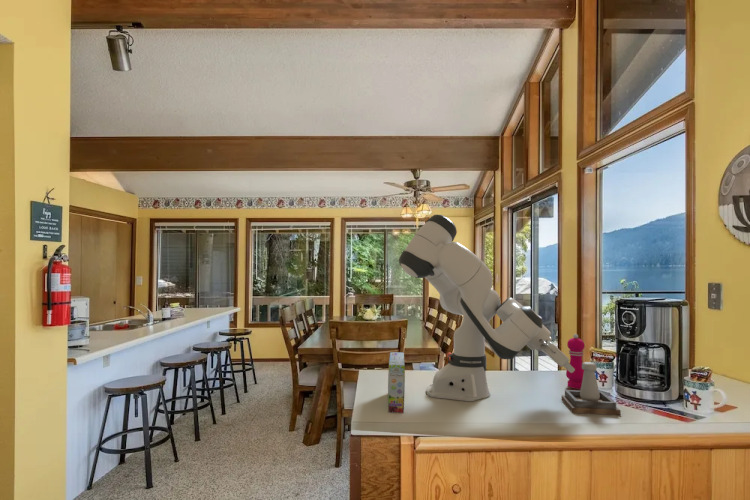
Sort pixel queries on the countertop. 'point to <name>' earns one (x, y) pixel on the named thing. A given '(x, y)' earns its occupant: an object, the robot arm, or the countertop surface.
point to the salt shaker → (589, 383)
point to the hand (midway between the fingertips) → (568, 367)
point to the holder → (590, 404)
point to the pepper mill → (575, 362)
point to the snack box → (396, 382)
